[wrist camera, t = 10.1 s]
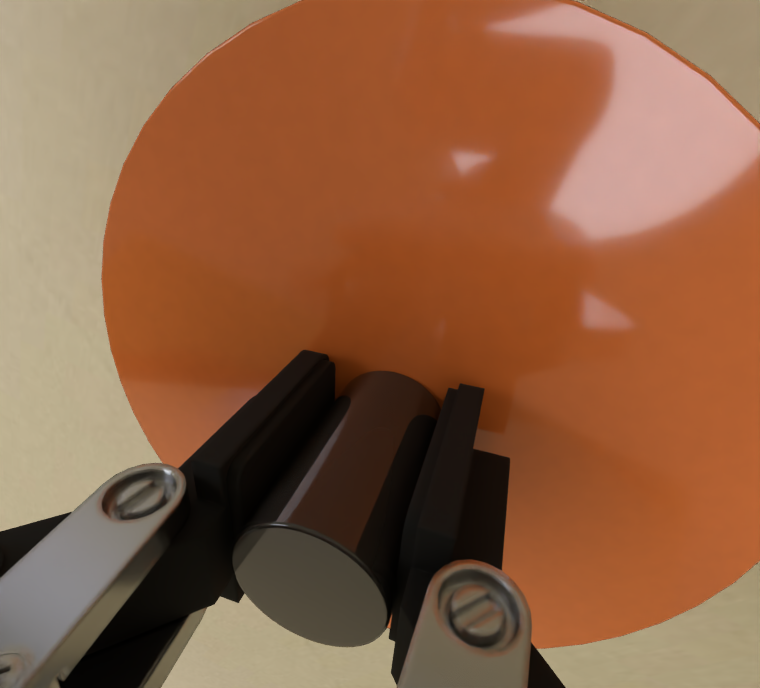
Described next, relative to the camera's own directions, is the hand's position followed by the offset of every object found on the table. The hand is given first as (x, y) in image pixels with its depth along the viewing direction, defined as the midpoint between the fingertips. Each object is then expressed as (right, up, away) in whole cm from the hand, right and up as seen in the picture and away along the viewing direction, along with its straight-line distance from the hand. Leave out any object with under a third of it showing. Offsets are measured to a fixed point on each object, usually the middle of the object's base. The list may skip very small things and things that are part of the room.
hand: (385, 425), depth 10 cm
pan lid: (0, 0, +1) cm, 1 cm away
